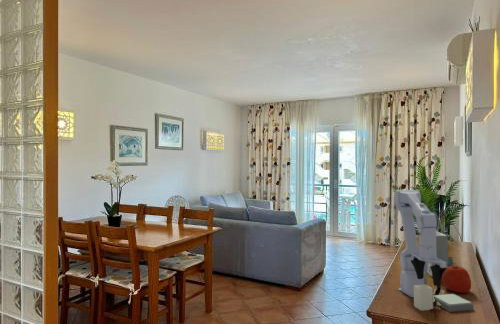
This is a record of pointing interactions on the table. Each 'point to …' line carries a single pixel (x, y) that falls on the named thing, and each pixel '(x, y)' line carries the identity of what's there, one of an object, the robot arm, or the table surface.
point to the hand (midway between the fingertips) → (428, 281)
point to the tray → (453, 302)
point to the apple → (456, 279)
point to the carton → (423, 297)
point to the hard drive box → (440, 250)
